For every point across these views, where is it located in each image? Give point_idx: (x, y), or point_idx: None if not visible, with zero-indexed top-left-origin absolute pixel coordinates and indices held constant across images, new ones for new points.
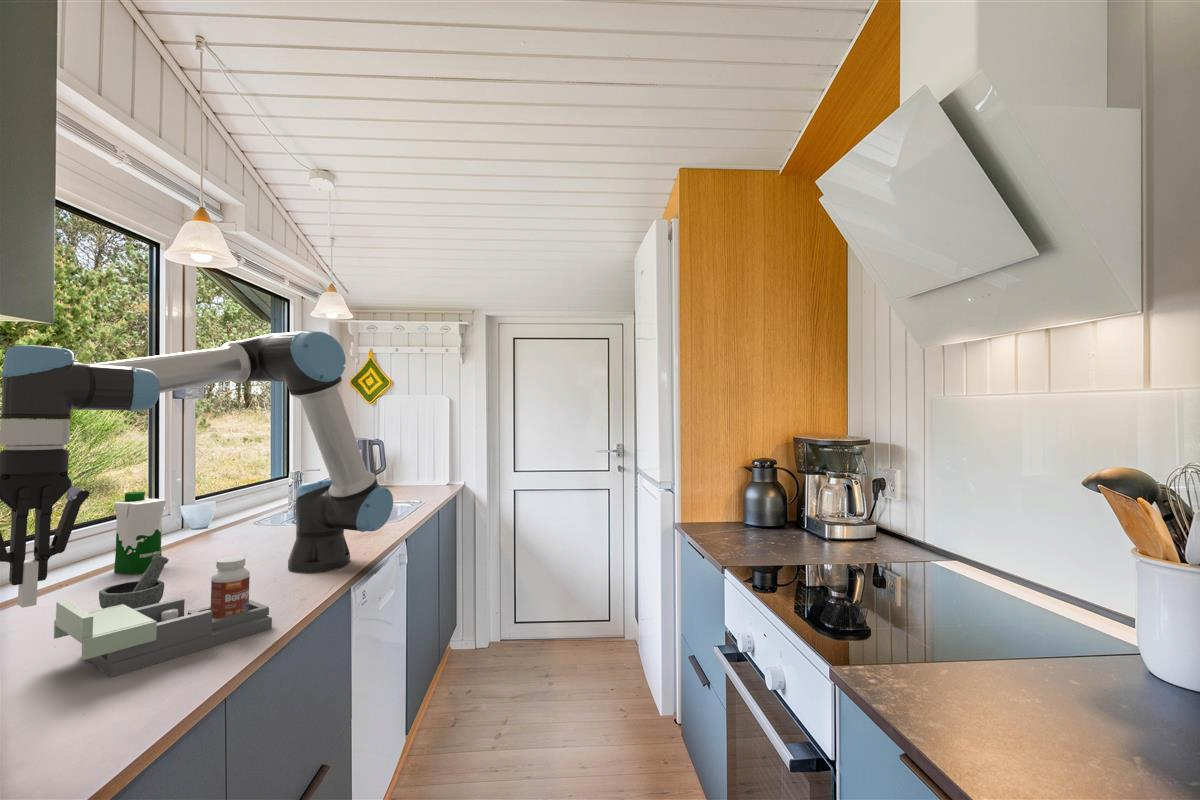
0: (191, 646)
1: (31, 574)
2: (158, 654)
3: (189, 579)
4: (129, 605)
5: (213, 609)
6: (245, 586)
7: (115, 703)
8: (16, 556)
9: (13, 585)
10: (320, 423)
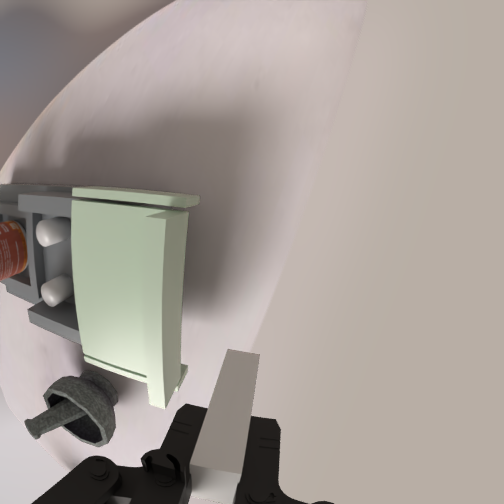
0: (72, 186)
1: (224, 427)
2: None
3: (50, 432)
4: (86, 390)
5: (17, 249)
6: None
7: (218, 81)
8: None
9: (275, 419)
10: None
